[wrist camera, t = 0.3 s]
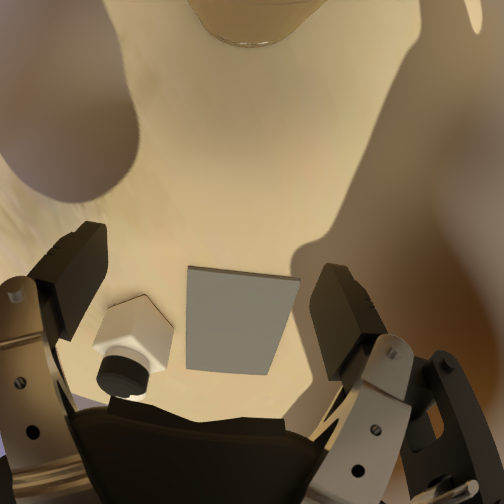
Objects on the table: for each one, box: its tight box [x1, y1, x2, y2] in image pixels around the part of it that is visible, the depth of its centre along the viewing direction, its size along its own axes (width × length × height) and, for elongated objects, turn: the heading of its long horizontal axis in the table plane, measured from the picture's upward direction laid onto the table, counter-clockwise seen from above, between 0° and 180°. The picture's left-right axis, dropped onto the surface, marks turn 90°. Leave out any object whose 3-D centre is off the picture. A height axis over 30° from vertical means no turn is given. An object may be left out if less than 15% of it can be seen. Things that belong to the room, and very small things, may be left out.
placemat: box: [186, 266, 301, 375], centre depth 38 cm, size 20×13×1 cm, turn 171°
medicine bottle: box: [93, 295, 174, 401], centre depth 32 cm, size 7×7×12 cm
